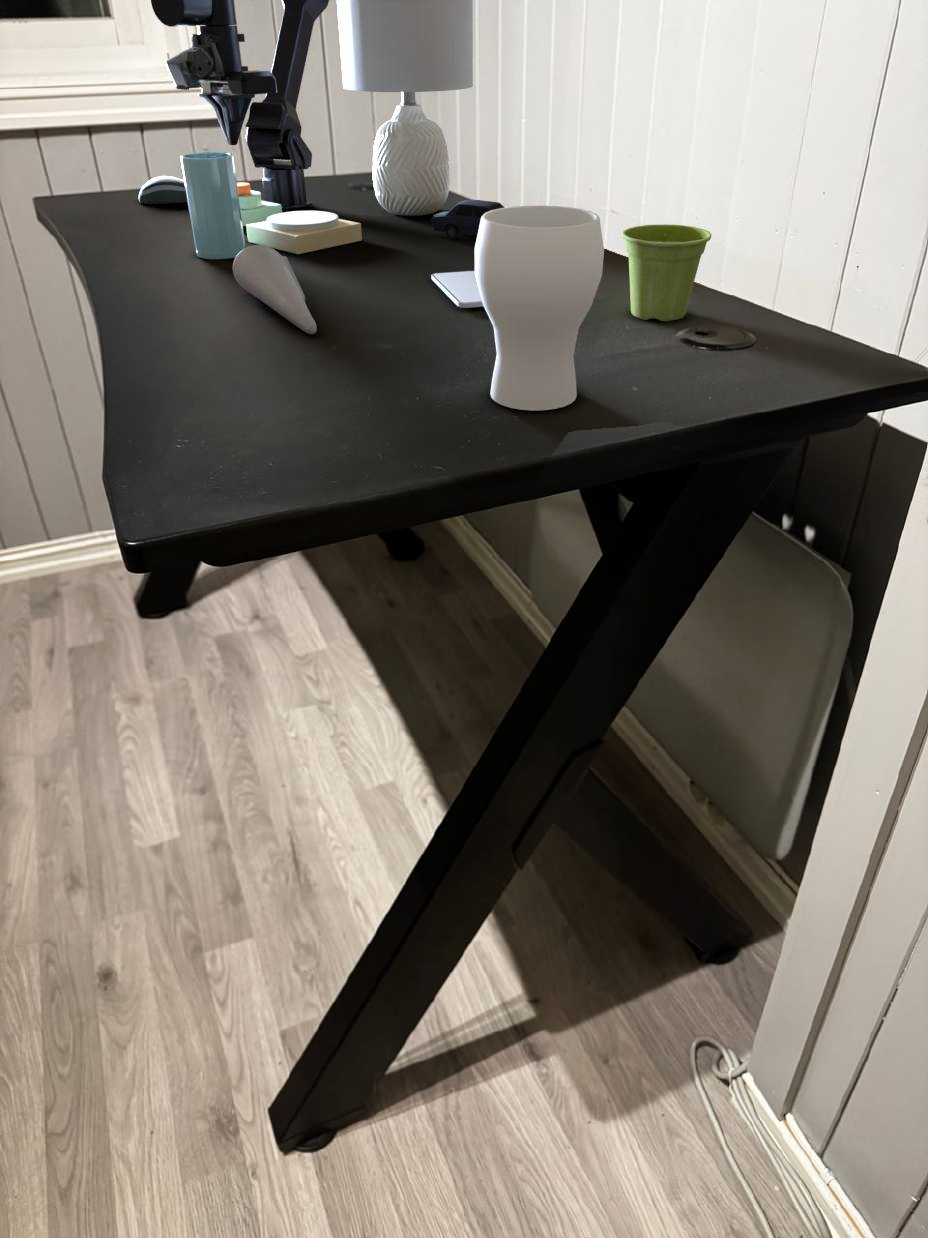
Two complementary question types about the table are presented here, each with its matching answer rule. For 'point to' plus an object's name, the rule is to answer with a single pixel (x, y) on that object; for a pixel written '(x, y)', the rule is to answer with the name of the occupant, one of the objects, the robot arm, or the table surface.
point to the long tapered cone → (273, 284)
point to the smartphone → (460, 287)
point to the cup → (537, 298)
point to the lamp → (408, 88)
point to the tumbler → (213, 204)
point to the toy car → (463, 217)
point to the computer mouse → (163, 191)
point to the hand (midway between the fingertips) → (232, 144)
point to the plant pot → (663, 268)
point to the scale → (303, 231)
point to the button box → (256, 208)
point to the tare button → (243, 189)
